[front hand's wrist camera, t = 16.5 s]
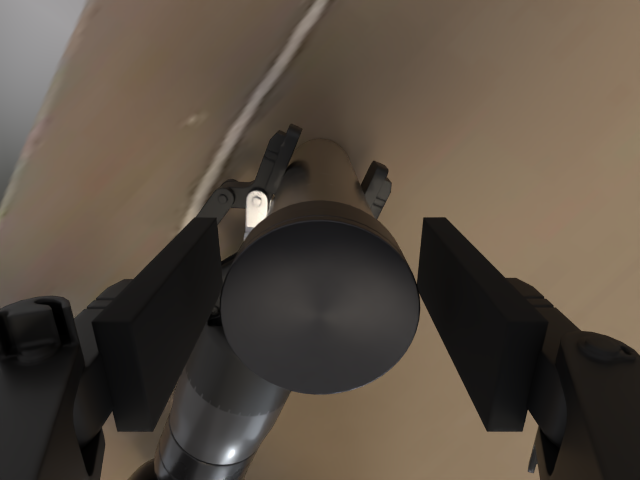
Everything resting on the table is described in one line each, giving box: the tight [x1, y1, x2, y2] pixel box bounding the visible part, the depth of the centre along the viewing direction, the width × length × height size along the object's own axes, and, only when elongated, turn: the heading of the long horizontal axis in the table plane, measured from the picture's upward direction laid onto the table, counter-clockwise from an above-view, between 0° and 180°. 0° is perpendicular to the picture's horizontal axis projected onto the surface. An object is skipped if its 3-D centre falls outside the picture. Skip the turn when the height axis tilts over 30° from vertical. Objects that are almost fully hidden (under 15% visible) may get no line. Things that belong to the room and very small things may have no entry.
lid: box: [220, 200, 420, 394], centre depth 11 cm, size 5×5×2 cm
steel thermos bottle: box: [266, 139, 374, 217], centre depth 20 cm, size 4×4×19 cm
